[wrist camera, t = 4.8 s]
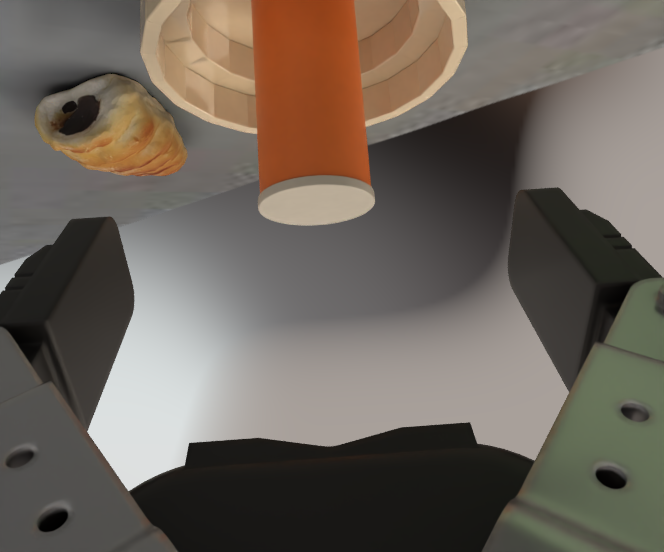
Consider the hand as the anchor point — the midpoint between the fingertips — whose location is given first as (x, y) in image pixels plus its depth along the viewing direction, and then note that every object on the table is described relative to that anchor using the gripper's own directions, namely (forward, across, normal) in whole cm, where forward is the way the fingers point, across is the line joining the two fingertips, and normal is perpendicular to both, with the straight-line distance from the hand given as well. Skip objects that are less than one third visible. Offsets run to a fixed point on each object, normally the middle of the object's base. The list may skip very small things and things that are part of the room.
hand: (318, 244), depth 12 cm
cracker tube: (+18, 0, -3) cm, 18 cm away
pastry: (+26, +11, +4) cm, 29 cm away
